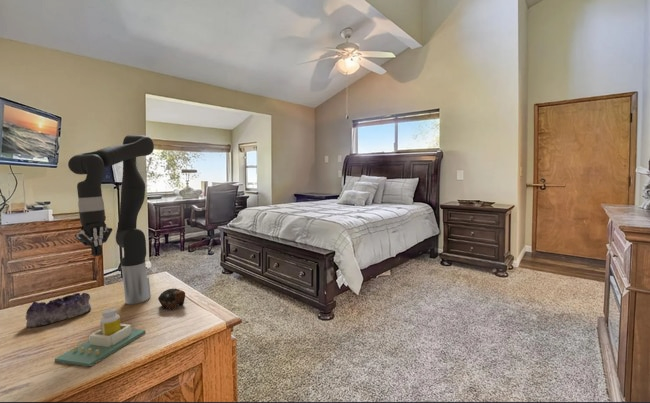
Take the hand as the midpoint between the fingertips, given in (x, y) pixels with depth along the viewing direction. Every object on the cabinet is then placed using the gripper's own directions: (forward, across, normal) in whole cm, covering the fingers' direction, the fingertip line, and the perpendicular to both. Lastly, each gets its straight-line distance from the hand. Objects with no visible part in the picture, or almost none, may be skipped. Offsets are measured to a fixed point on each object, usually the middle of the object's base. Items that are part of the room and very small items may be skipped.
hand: (97, 255), depth 116 cm
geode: (+27, -2, -26) cm, 38 cm away
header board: (+27, +12, +14) cm, 33 cm away
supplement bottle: (+26, +9, +14) cm, 31 cm away
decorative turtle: (+27, -19, +14) cm, 36 cm away
